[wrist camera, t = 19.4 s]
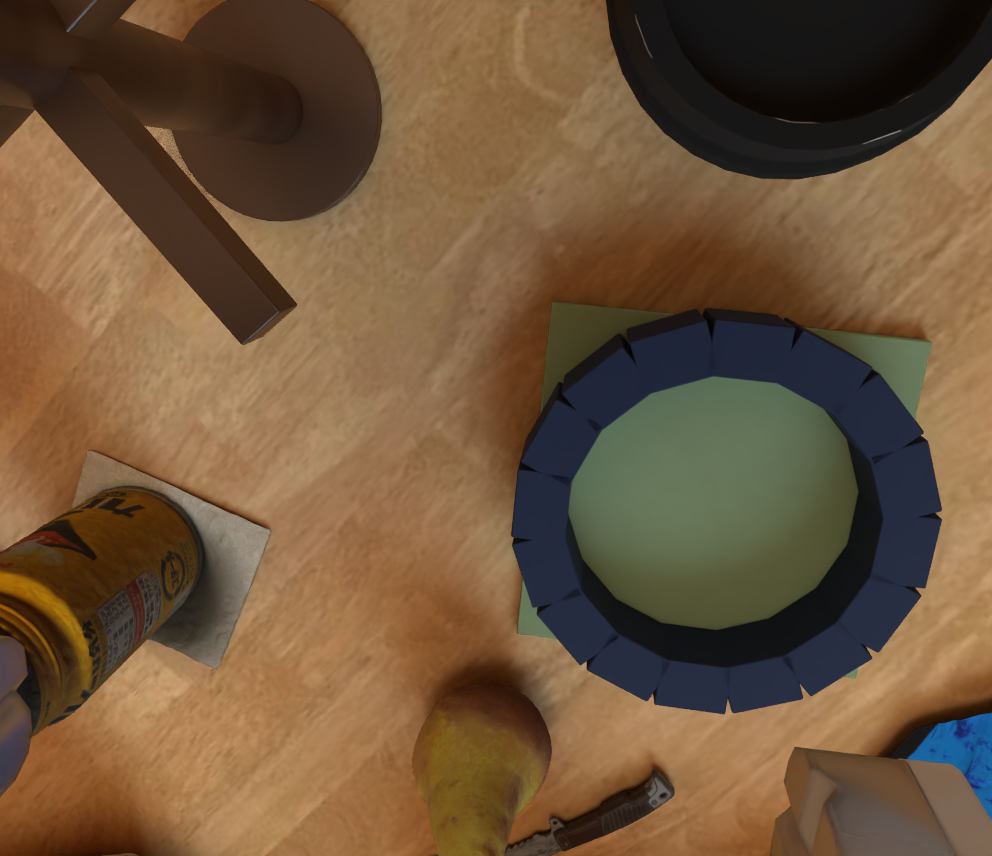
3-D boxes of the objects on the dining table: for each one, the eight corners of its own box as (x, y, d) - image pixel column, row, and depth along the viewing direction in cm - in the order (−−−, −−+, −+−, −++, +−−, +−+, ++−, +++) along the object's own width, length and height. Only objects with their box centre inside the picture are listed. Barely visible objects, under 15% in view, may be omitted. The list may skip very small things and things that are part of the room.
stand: (127, -69, 32) (-1010, -702, 9) (437, -46, 31) (18, -687, 8) (134, 250, 35) (-704, 361, 12) (417, 279, 34) (69, 455, 11)
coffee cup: (620, -87, 30) (646, -344, 16) (872, -59, 29) (1140, -300, 15) (583, 168, 32) (575, 149, 18) (815, 198, 32) (1002, 204, 17)
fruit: (415, 663, 38) (338, 868, 27) (546, 654, 37) (526, 861, 26) (435, 774, 40) (370, 1014, 28) (561, 767, 39) (549, 1012, 27)
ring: (539, 290, 33) (534, 300, 30) (949, 332, 32) (984, 346, 29) (503, 645, 37) (496, 683, 34) (866, 693, 36) (889, 737, 33)
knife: (647, 752, 37) (681, 805, 38) (646, 742, 38) (680, 794, 38) (335, 889, 42) (371, 935, 42) (340, 877, 42) (374, 923, 43)
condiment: (90, 448, 37) (-135, 562, 26) (272, 529, 37) (129, 680, 26) (47, 589, 39) (-179, 754, 28) (220, 665, 39) (66, 861, 28)
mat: (552, 301, 34) (551, 302, 33) (927, 339, 33) (932, 341, 32) (517, 628, 37) (516, 634, 37) (852, 672, 36) (856, 679, 36)
